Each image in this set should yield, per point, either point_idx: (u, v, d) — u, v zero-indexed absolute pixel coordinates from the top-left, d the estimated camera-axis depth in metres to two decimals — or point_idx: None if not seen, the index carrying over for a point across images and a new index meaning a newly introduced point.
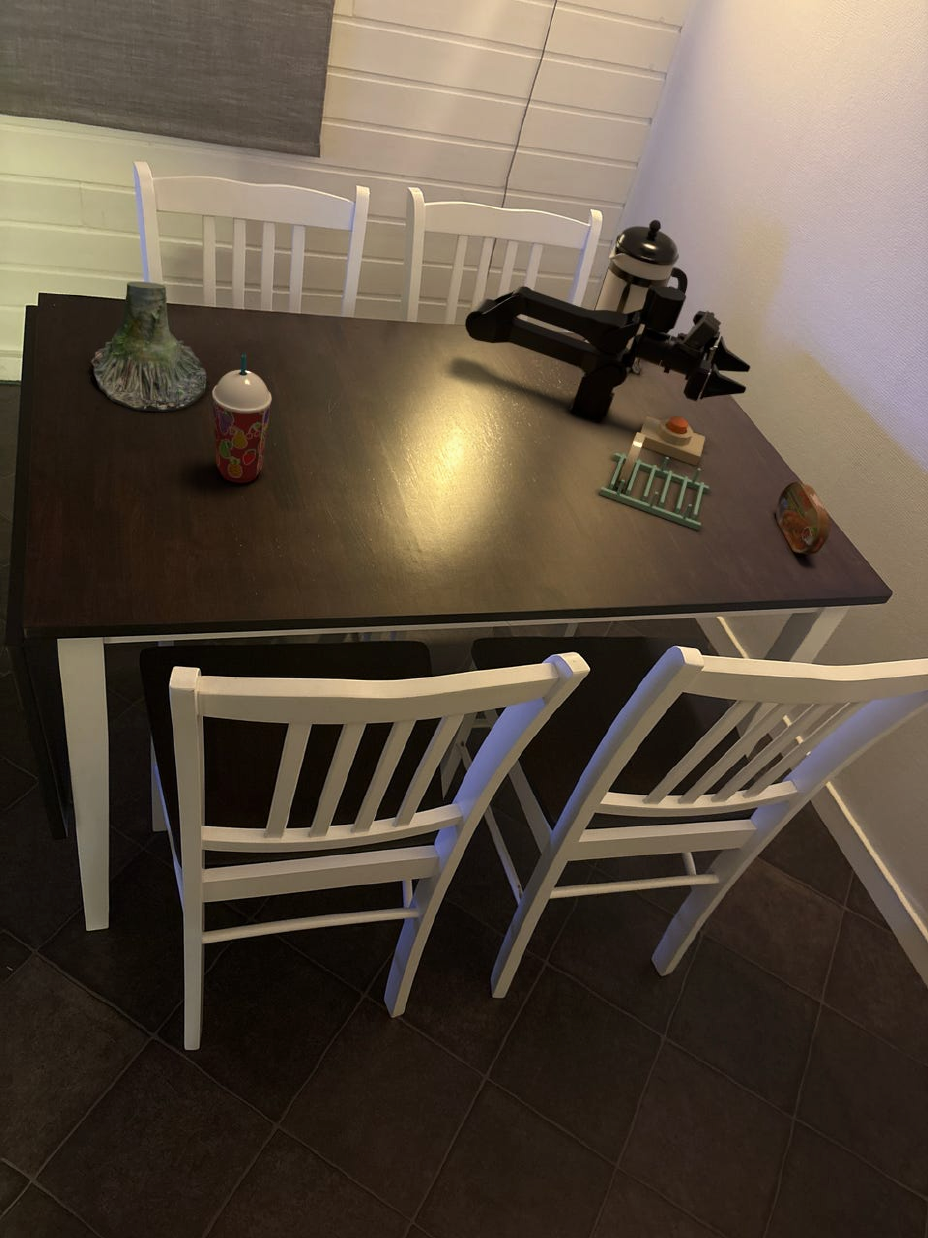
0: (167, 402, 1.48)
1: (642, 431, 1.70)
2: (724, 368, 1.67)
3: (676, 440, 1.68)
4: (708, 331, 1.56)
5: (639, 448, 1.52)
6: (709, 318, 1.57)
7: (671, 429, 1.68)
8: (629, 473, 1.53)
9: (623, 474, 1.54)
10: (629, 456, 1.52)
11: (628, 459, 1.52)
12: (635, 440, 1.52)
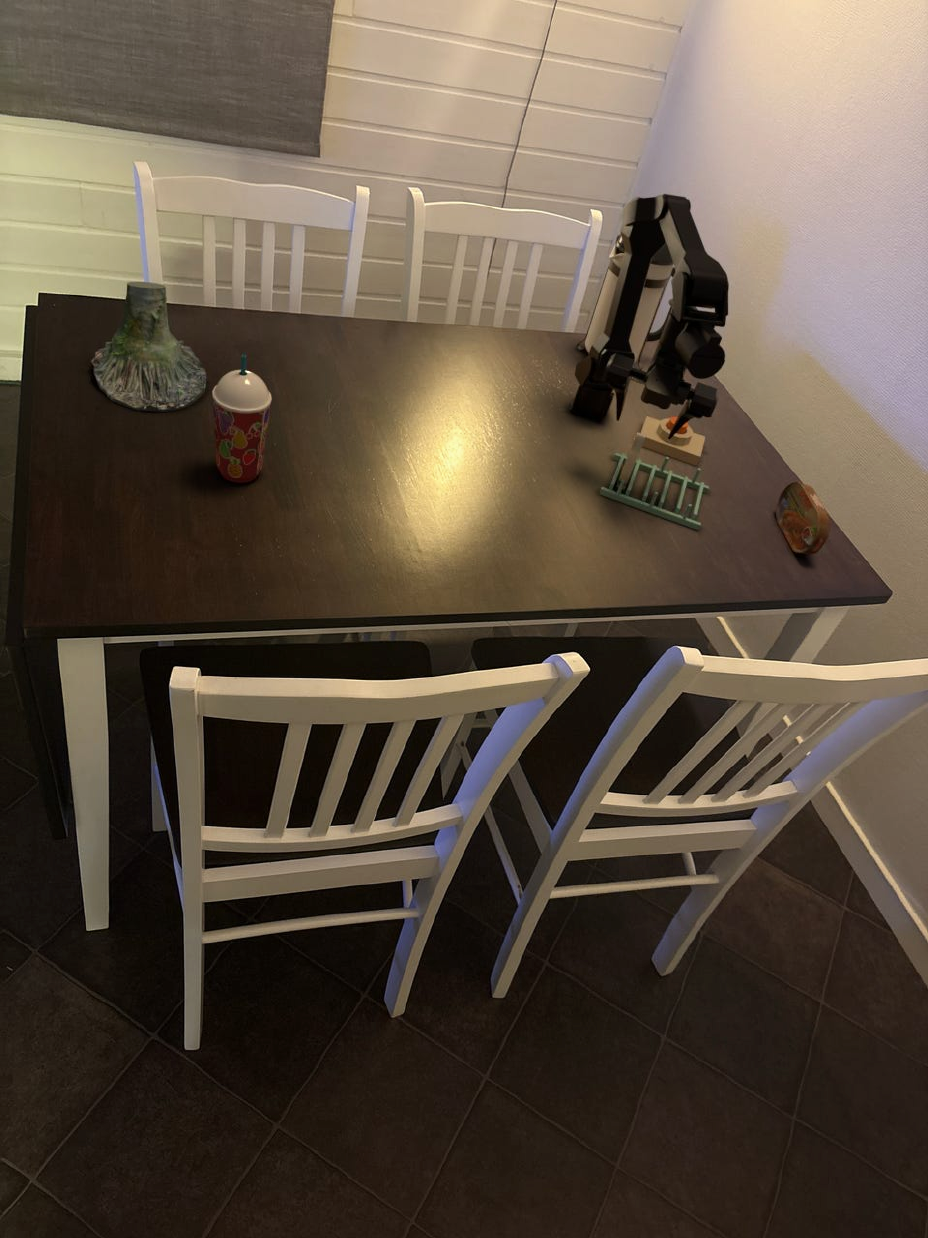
0: (167, 402, 1.48)
1: (642, 431, 1.70)
2: (680, 412, 1.50)
3: (676, 440, 1.68)
4: (643, 390, 1.41)
5: (639, 448, 1.52)
6: (654, 394, 1.39)
7: None
8: (629, 473, 1.53)
9: (623, 474, 1.54)
10: (629, 456, 1.52)
11: (628, 459, 1.52)
12: (635, 440, 1.52)
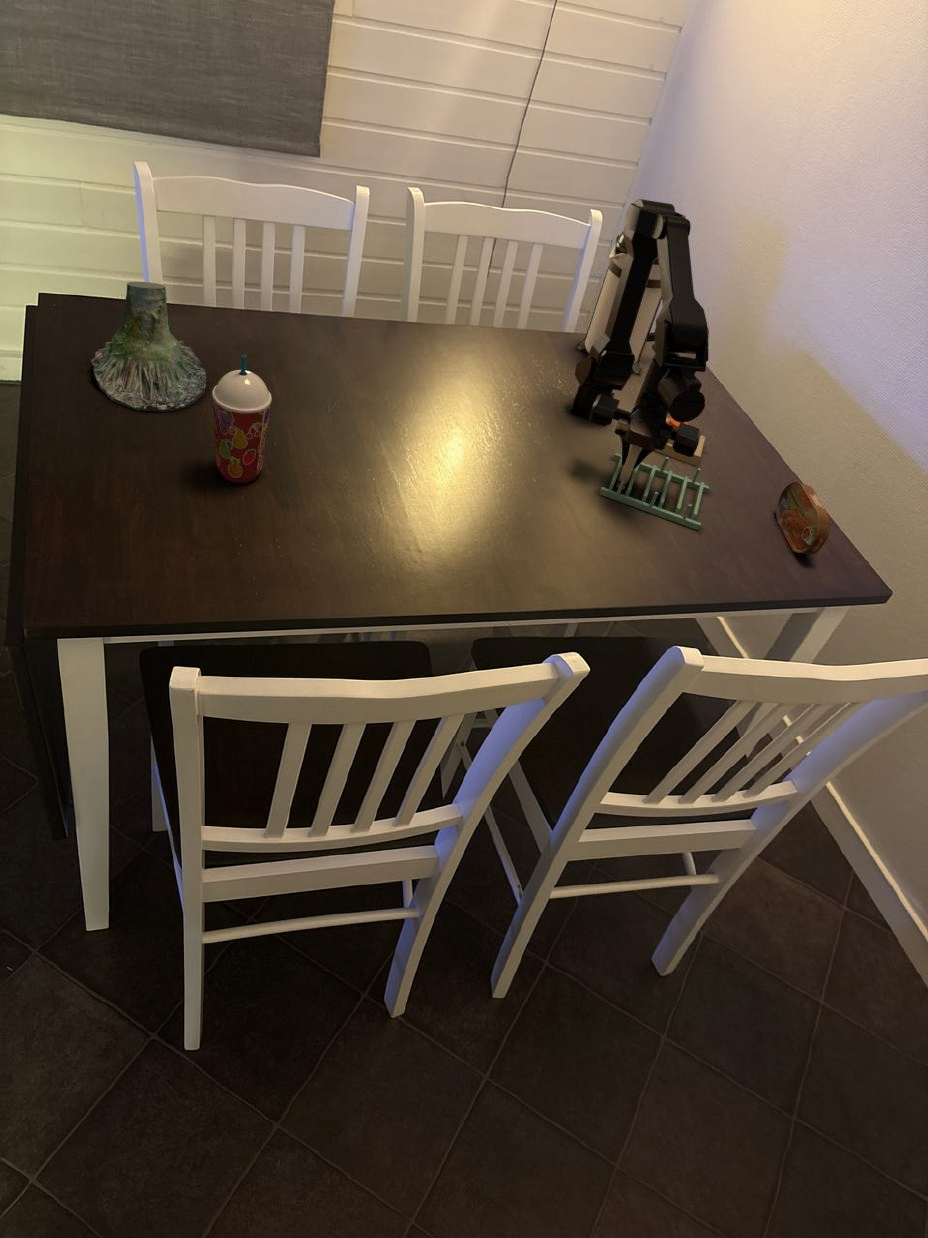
0: (167, 402, 1.48)
1: None
2: None
3: None
4: None
5: (639, 448, 1.52)
6: (637, 436, 1.44)
7: None
8: (629, 473, 1.53)
9: (623, 474, 1.54)
10: (629, 456, 1.52)
11: (628, 459, 1.52)
12: None
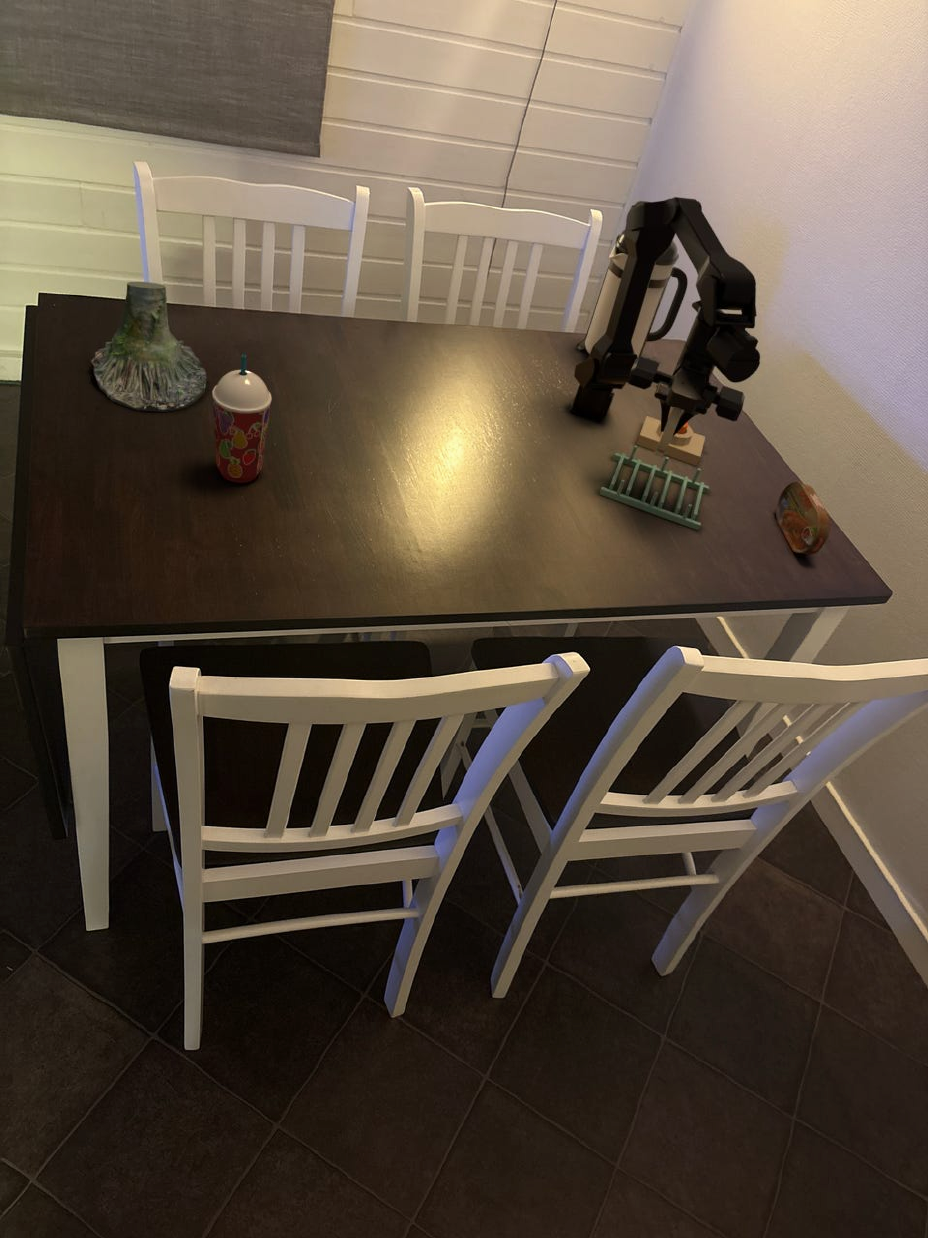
0: (167, 402, 1.48)
1: (642, 431, 1.70)
2: None
3: (676, 440, 1.68)
4: (668, 393, 1.40)
5: (680, 412, 1.46)
6: (680, 397, 1.38)
7: None
8: (669, 439, 1.47)
9: (663, 440, 1.48)
10: (669, 421, 1.46)
11: (668, 424, 1.46)
12: None
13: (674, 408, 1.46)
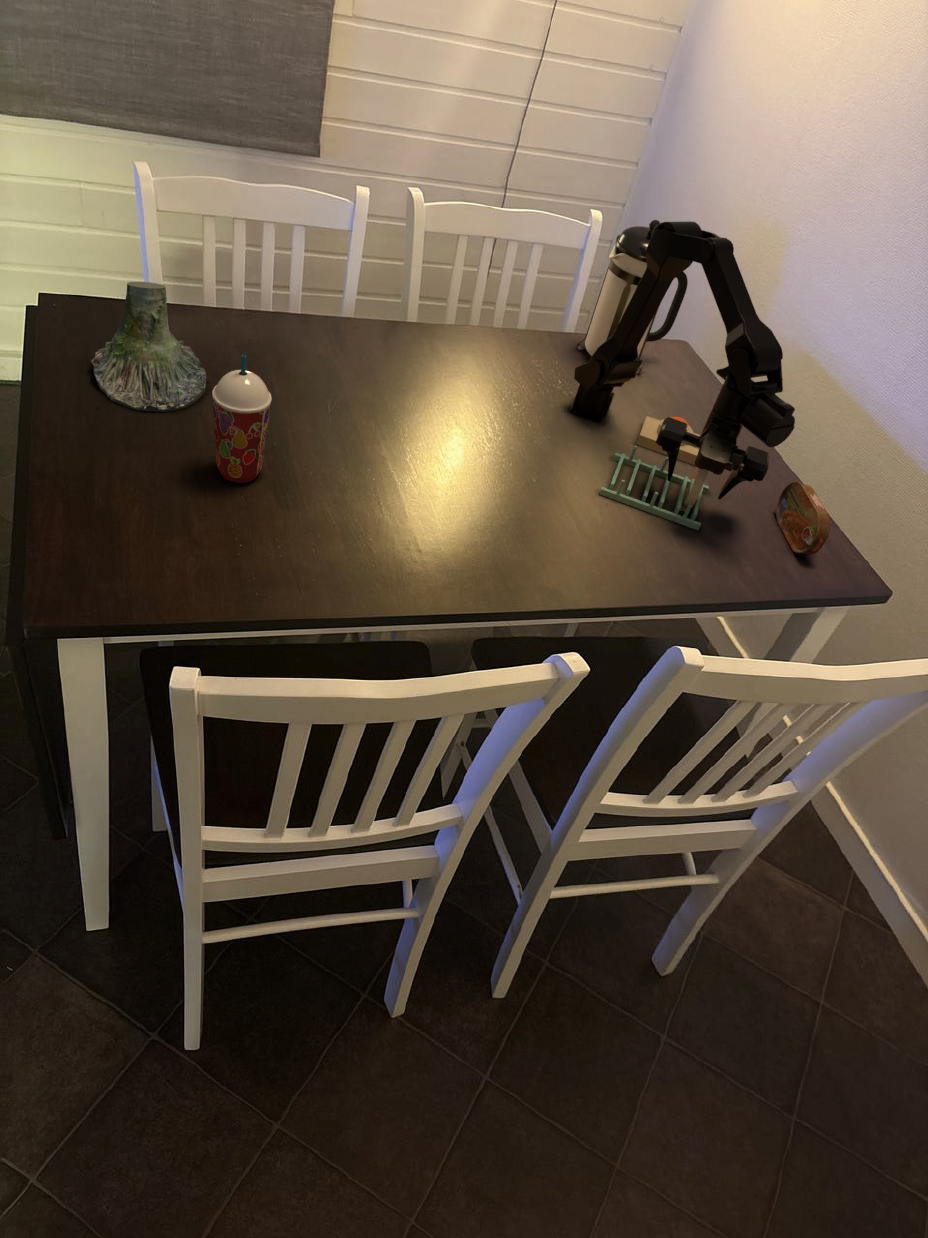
0: (167, 402, 1.48)
1: (642, 431, 1.70)
2: (730, 474, 1.54)
3: None
4: (697, 456, 1.45)
5: (706, 472, 1.51)
6: (709, 461, 1.43)
7: None
8: (695, 497, 1.52)
9: (689, 498, 1.53)
10: (696, 480, 1.51)
11: (695, 483, 1.51)
12: None
13: None
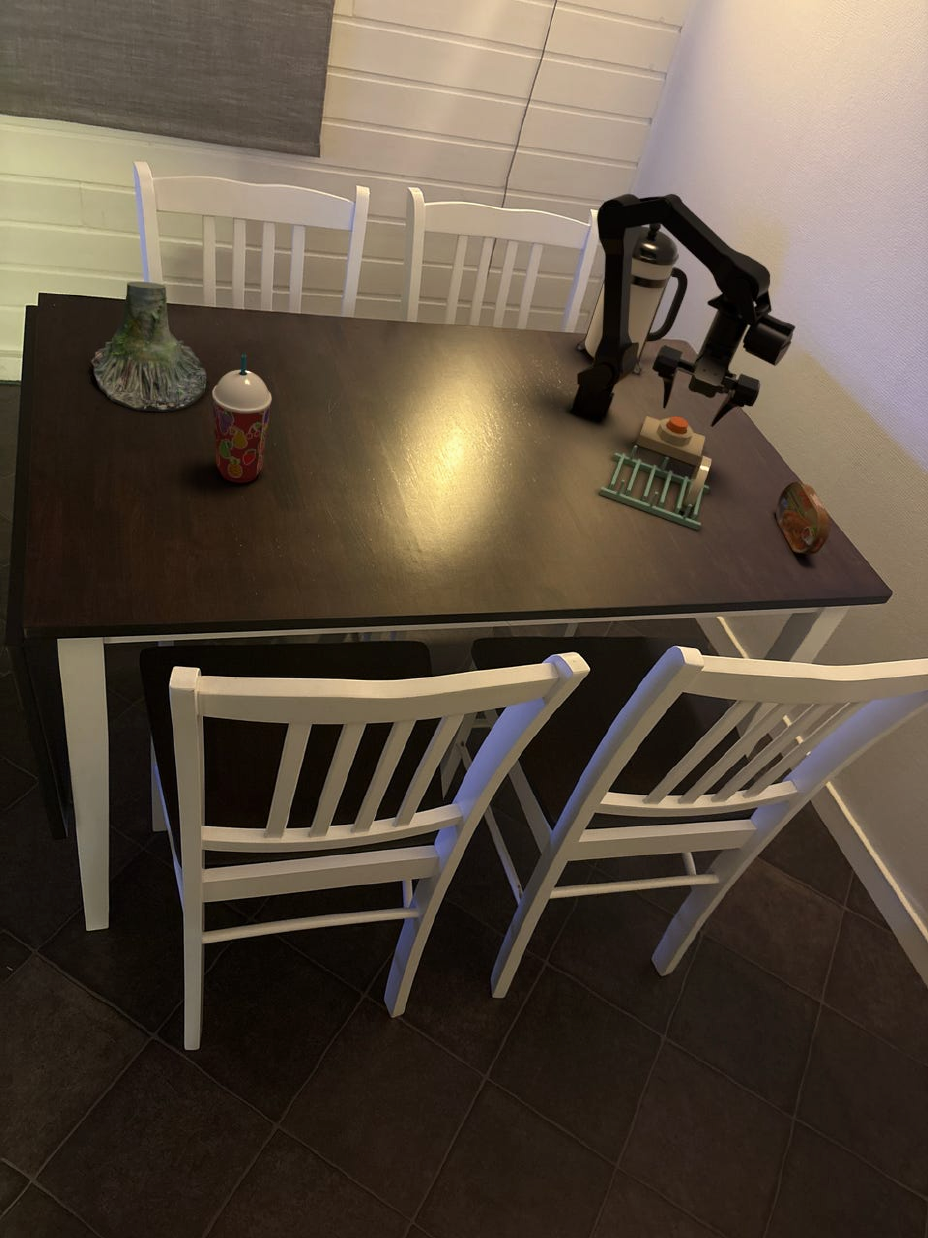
0: (167, 402, 1.48)
1: (642, 431, 1.70)
2: (723, 402, 1.61)
3: (676, 440, 1.68)
4: (691, 379, 1.52)
5: (706, 472, 1.51)
6: (701, 383, 1.51)
7: (671, 429, 1.68)
8: (695, 497, 1.52)
9: (689, 498, 1.53)
10: (696, 480, 1.51)
11: (695, 483, 1.51)
12: (702, 464, 1.51)
13: (701, 468, 1.51)
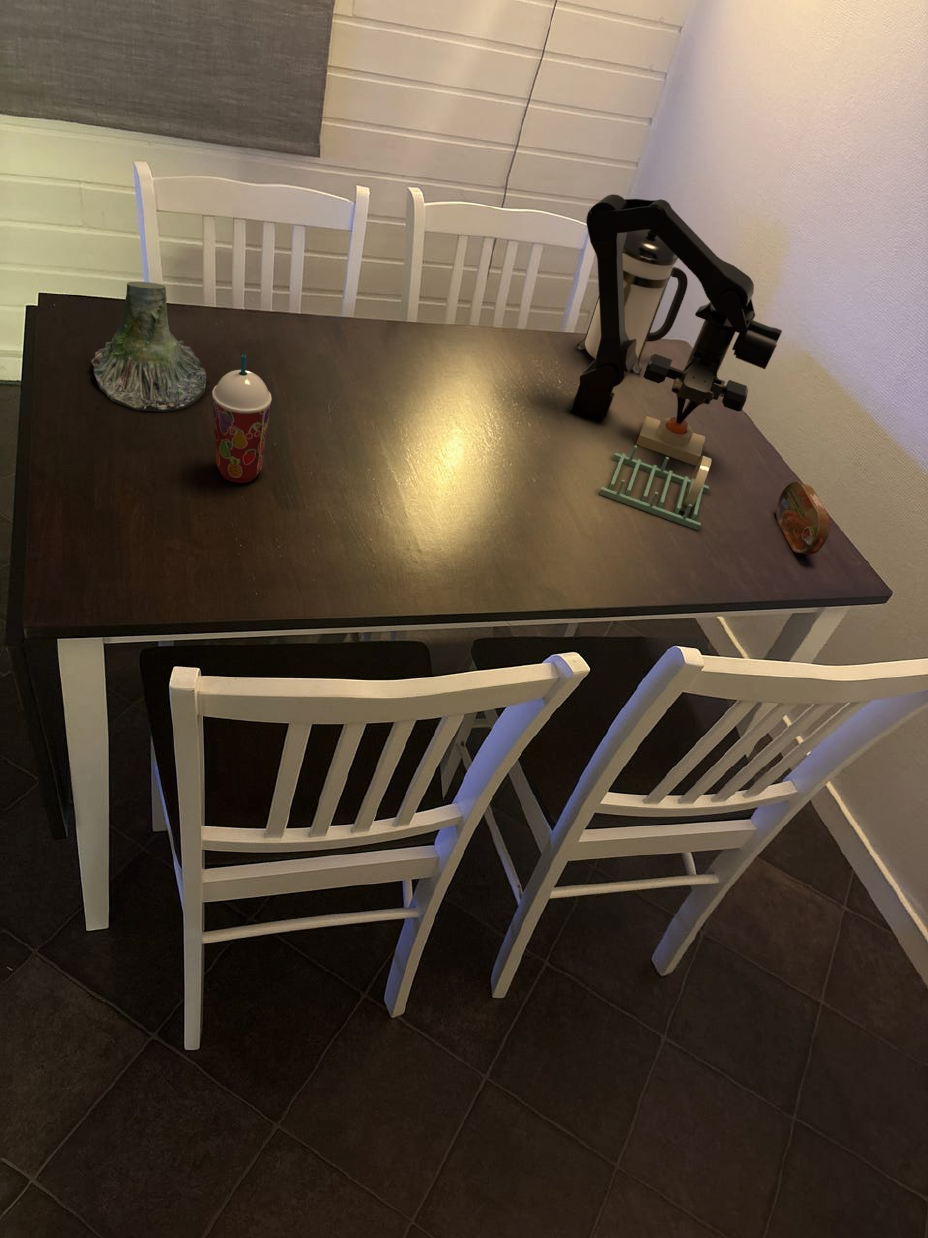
0: (167, 402, 1.48)
1: (642, 431, 1.70)
2: (689, 399, 1.67)
3: (676, 440, 1.68)
4: (681, 386, 1.57)
5: (706, 472, 1.51)
6: (691, 390, 1.56)
7: (671, 430, 1.68)
8: (695, 497, 1.52)
9: (689, 498, 1.53)
10: (696, 480, 1.51)
11: (695, 483, 1.51)
12: (702, 464, 1.51)
13: (701, 468, 1.51)
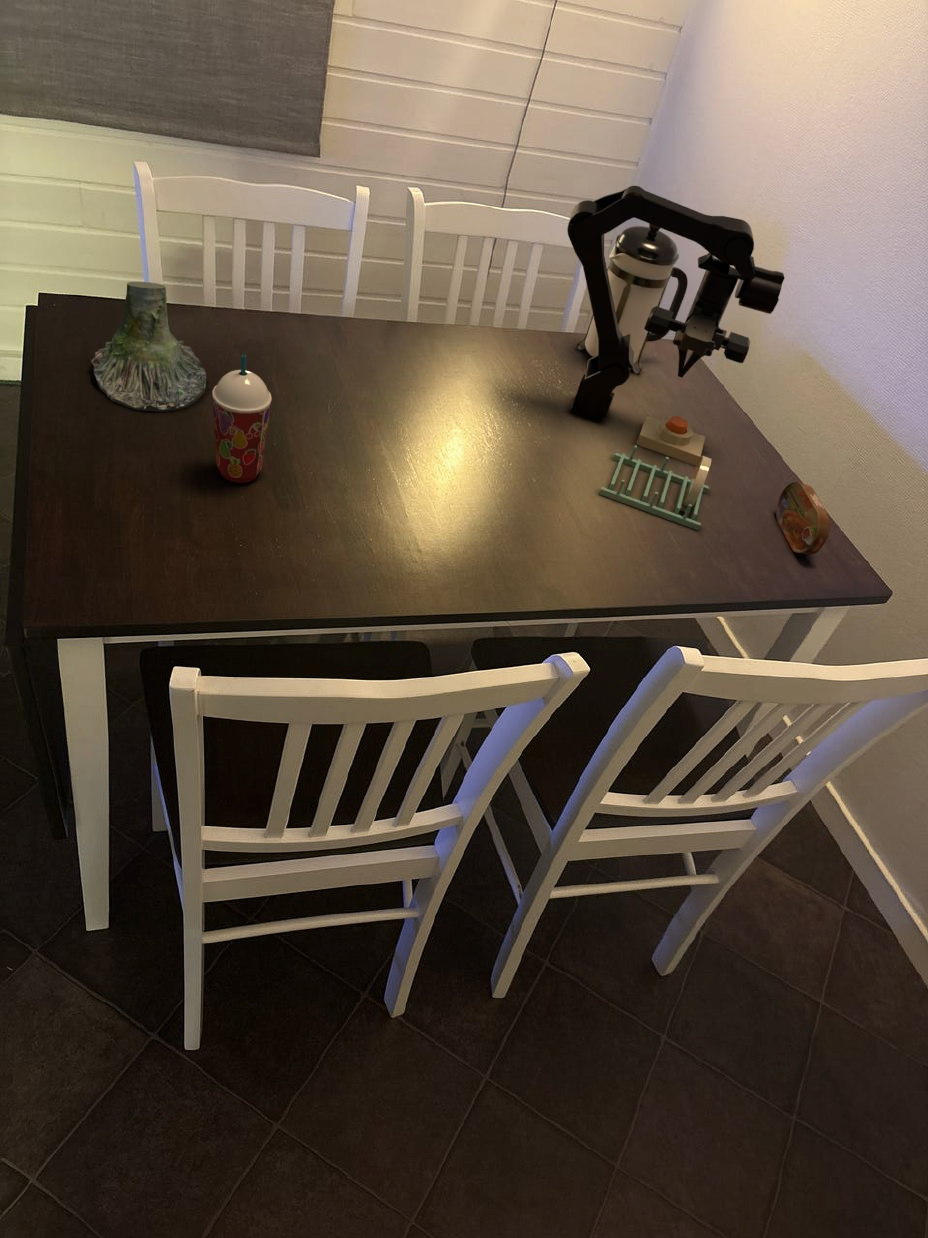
0: (167, 402, 1.48)
1: (642, 431, 1.70)
2: (691, 353, 1.66)
3: (676, 440, 1.68)
4: (682, 337, 1.56)
5: (706, 472, 1.51)
6: (693, 340, 1.54)
7: (671, 429, 1.68)
8: (695, 497, 1.52)
9: (689, 498, 1.53)
10: (696, 480, 1.51)
11: (695, 483, 1.51)
12: (702, 464, 1.51)
13: (701, 468, 1.51)
